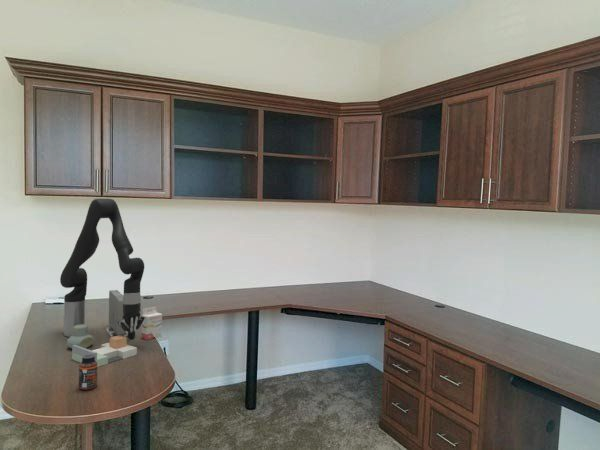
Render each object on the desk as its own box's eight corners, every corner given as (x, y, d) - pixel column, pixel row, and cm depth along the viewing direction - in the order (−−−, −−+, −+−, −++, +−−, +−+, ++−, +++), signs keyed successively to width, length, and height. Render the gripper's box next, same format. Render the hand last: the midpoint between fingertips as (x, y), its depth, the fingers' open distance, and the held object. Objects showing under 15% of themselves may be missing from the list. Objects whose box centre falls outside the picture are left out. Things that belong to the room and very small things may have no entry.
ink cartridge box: (146, 340, 206) (147, 310, 206) (141, 338, 210) (141, 308, 209) (162, 336, 213) (162, 307, 213) (156, 334, 216) (157, 306, 216)
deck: (72, 359, 179) (72, 345, 178) (115, 347, 196) (115, 334, 195) (94, 368, 170) (94, 353, 170) (137, 354, 187) (137, 341, 187)
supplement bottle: (87, 392, 148) (87, 360, 148) (74, 388, 151) (74, 357, 150) (100, 385, 154) (101, 354, 154) (88, 382, 156) (88, 352, 156)
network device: (104, 327, 226) (104, 290, 226) (121, 325, 231) (122, 289, 231) (112, 340, 205) (113, 299, 204) (131, 337, 210) (132, 297, 209)
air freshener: (75, 352, 187) (76, 330, 187) (63, 349, 191) (63, 327, 190) (97, 345, 197) (97, 324, 197) (84, 342, 201) (85, 321, 200)
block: (109, 346, 187) (109, 337, 187) (119, 343, 191) (119, 335, 191) (116, 349, 184) (116, 340, 184) (126, 346, 188) (126, 337, 188)
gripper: (139, 298, 200) (138, 334, 201) (113, 303, 189) (113, 341, 190) (149, 300, 196) (148, 337, 197) (124, 305, 185) (123, 344, 186)
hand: (131, 339), depth 193 cm, fingers closed
